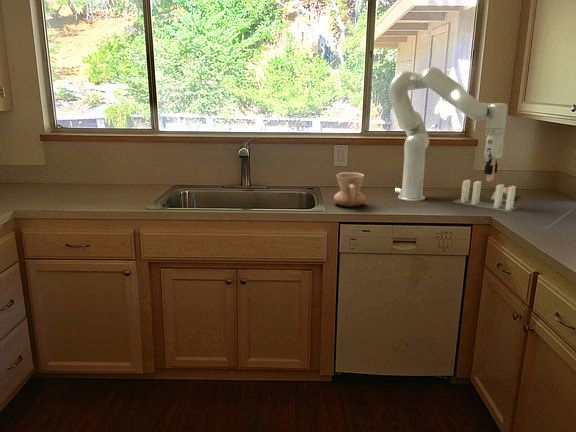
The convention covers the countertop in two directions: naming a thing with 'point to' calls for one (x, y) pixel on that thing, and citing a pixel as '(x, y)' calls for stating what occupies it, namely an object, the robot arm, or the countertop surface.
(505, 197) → the packaged product
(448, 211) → the countertop surface
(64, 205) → the countertop surface
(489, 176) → the domino
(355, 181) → the ceramic jug
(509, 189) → the domino
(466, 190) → the domino
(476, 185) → the domino
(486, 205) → the mat
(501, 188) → the domino
